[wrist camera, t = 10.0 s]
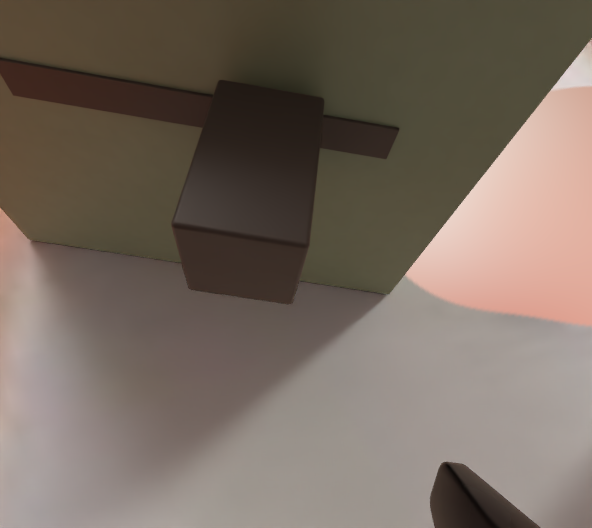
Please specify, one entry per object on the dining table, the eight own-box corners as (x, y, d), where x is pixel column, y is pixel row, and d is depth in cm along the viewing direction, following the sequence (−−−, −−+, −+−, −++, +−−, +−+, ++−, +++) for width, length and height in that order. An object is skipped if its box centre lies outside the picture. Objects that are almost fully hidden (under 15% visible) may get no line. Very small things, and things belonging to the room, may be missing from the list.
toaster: (389, 297, 17) (694, -82, 6) (27, 242, 17) (-496, -339, 5) (386, 140, 22) (545, -233, 11) (108, 92, 22) (-50, -371, 10)
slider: (292, 306, 9) (310, 247, 7) (187, 291, 9) (168, 225, 6) (308, 176, 11) (325, 96, 9) (222, 161, 11) (218, 77, 8)
